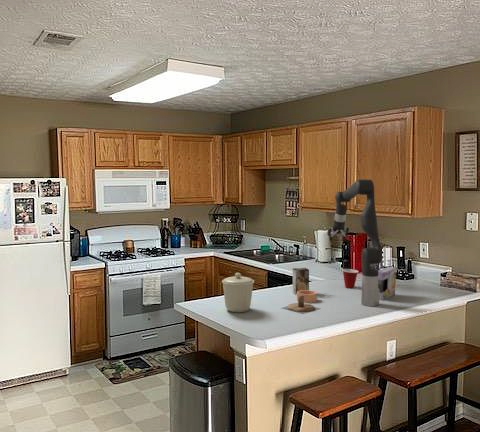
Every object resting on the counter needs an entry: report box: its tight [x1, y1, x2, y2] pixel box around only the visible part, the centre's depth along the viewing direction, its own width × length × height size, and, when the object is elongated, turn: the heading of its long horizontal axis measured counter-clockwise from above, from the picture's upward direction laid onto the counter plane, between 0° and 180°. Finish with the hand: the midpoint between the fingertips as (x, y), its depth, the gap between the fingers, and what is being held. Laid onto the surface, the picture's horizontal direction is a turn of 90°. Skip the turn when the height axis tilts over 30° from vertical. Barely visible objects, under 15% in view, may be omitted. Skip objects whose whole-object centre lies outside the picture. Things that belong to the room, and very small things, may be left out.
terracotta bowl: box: [296, 289, 318, 304], centre depth 297 cm, size 11×11×5 cm
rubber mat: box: [281, 305, 321, 315], centre depth 279 cm, size 16×16×1 cm
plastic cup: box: [341, 268, 359, 289], centre depth 332 cm, size 11×11×12 cm
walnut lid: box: [287, 296, 315, 313], centre depth 278 cm, size 15×15×7 cm
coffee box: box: [292, 267, 310, 295], centre depth 315 cm, size 9×6×16 cm
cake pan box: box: [377, 266, 397, 301], centre depth 306 cm, size 19×5×18 cm, turn 136°
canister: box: [221, 272, 255, 313], centre depth 275 cm, size 18×18×21 cm
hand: (336, 240), depth 342 cm, fingers open, 8 cm apart
